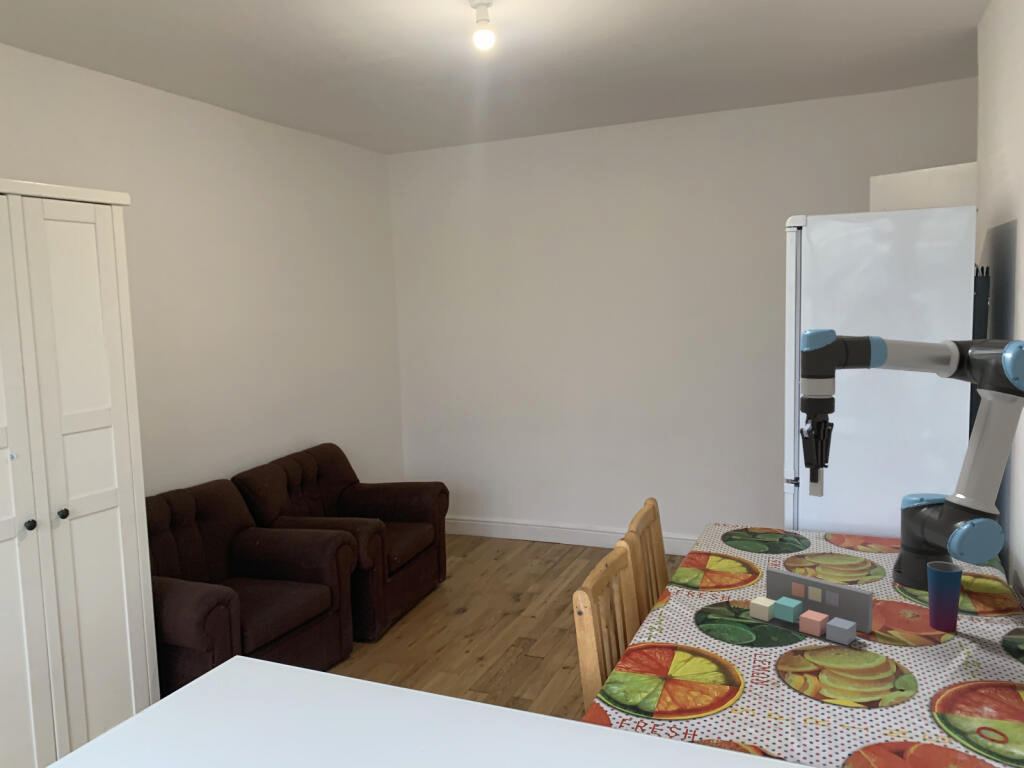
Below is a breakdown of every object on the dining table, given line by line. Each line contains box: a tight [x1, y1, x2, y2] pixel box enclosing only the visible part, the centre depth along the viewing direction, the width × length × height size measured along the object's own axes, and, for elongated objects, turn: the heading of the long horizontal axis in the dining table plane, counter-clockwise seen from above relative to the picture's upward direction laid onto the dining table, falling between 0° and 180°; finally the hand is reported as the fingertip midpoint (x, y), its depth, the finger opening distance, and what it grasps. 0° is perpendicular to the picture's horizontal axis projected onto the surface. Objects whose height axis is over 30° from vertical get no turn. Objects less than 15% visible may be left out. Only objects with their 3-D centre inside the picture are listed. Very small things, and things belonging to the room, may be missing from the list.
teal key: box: [774, 597, 802, 622], centre depth 172 cm, size 4×4×4 cm
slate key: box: [826, 617, 857, 645], centre depth 164 cm, size 4×4×4 cm
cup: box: [927, 561, 963, 634], centre depth 168 cm, size 7×7×15 cm
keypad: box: [747, 567, 874, 649], centre depth 171 cm, size 16×24×10 cm, turn 44°
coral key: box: [799, 610, 829, 637], centre depth 168 cm, size 4×4×4 cm
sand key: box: [749, 595, 775, 622], centre depth 177 cm, size 4×4×4 cm
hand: (816, 495), depth 179 cm, fingers closed
